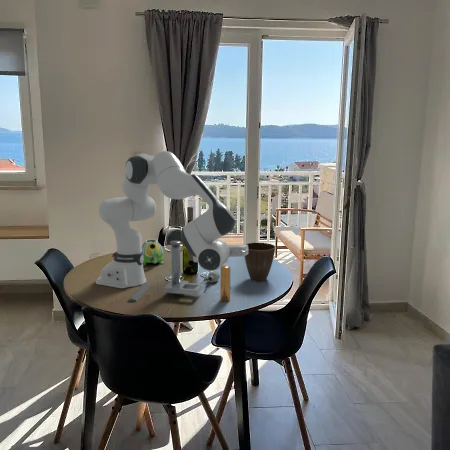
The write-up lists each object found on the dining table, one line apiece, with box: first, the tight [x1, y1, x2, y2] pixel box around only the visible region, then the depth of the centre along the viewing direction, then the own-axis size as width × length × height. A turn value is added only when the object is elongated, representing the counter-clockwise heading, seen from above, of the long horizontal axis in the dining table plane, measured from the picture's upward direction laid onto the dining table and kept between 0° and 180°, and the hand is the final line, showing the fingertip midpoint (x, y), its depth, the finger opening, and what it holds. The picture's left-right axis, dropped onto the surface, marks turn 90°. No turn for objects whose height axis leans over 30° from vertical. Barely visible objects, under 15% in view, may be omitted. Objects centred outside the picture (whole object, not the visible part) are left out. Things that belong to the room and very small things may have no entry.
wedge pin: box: [219, 265, 232, 303], centre depth 177 cm, size 4×4×14 cm
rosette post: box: [163, 240, 204, 296], centre depth 182 cm, size 14×11×22 cm
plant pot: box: [244, 242, 276, 282], centre depth 205 cm, size 15×15×16 cm
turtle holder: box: [142, 239, 165, 266], centre depth 229 cm, size 12×18×12 cm
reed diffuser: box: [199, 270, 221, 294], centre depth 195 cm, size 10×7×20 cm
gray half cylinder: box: [127, 282, 150, 302], centre depth 185 cm, size 4×20×2 cm, turn 174°
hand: (223, 247), depth 166 cm, fingers open, 8 cm apart
